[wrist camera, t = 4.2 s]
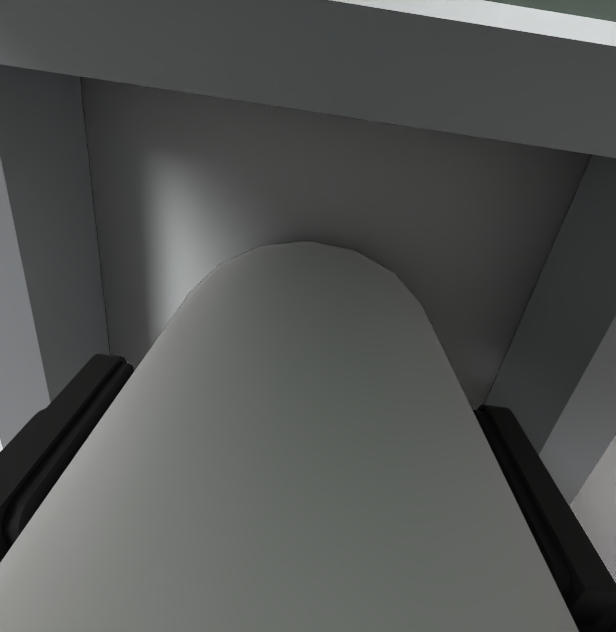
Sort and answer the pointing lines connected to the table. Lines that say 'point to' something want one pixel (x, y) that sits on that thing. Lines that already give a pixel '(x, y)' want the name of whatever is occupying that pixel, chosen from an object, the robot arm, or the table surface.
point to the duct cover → (571, 7)
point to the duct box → (322, 97)
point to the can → (285, 476)
